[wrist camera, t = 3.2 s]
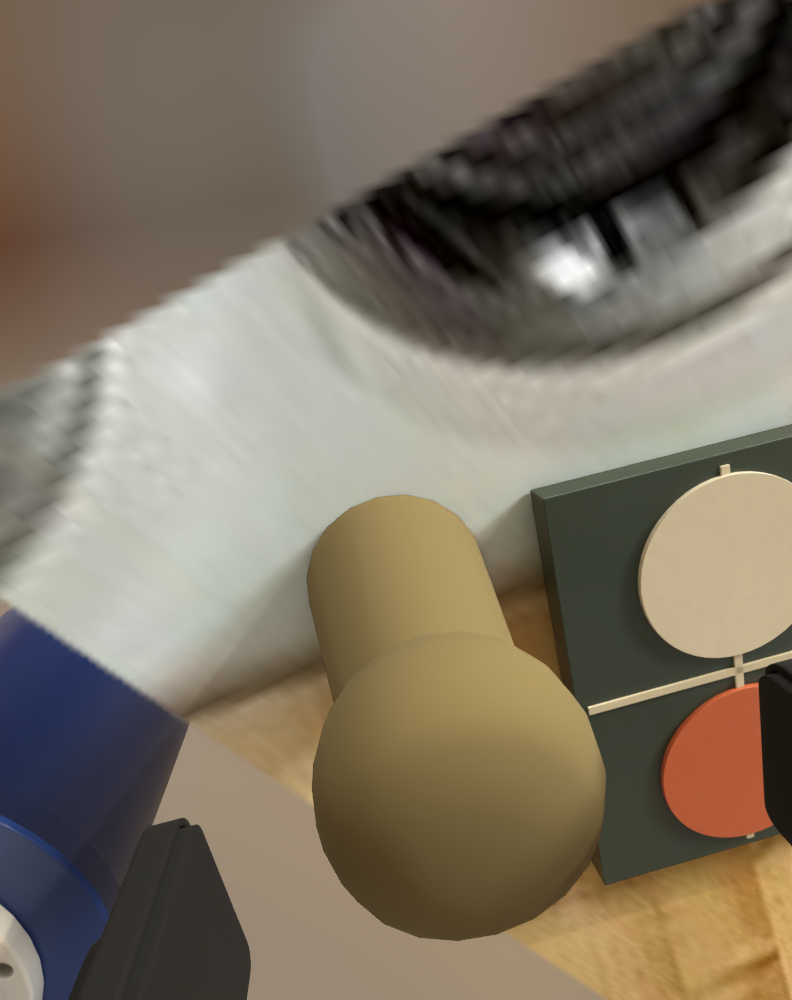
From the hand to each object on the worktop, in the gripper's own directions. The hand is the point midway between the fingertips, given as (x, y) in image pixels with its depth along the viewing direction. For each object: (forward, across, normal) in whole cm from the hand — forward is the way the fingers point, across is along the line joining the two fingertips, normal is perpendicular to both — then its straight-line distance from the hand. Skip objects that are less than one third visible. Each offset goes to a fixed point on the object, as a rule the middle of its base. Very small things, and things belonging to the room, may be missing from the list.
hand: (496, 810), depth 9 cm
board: (+11, -10, +6) cm, 16 cm away
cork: (+11, +1, 0) cm, 11 cm away
